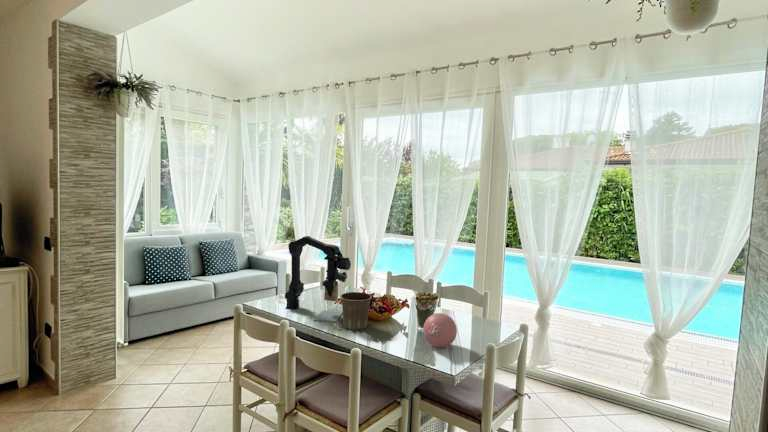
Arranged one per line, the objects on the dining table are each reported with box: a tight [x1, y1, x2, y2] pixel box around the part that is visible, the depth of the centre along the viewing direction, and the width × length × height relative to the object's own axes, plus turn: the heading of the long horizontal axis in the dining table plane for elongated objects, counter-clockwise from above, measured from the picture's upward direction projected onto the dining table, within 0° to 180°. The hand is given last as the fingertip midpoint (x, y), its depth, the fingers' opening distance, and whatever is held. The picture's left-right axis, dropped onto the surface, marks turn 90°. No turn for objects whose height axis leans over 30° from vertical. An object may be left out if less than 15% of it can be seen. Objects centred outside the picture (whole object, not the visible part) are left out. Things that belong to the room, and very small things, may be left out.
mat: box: [313, 309, 343, 323], centre depth 226 cm, size 12×18×1 cm, turn 174°
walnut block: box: [323, 283, 340, 302], centre depth 229 cm, size 7×4×9 cm, turn 84°
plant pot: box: [340, 291, 373, 331], centre depth 211 cm, size 16×16×16 cm
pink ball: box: [422, 312, 458, 349], centre depth 185 cm, size 15×20×15 cm
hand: (331, 295), depth 229 cm, fingers closed on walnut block, 4 cm apart
